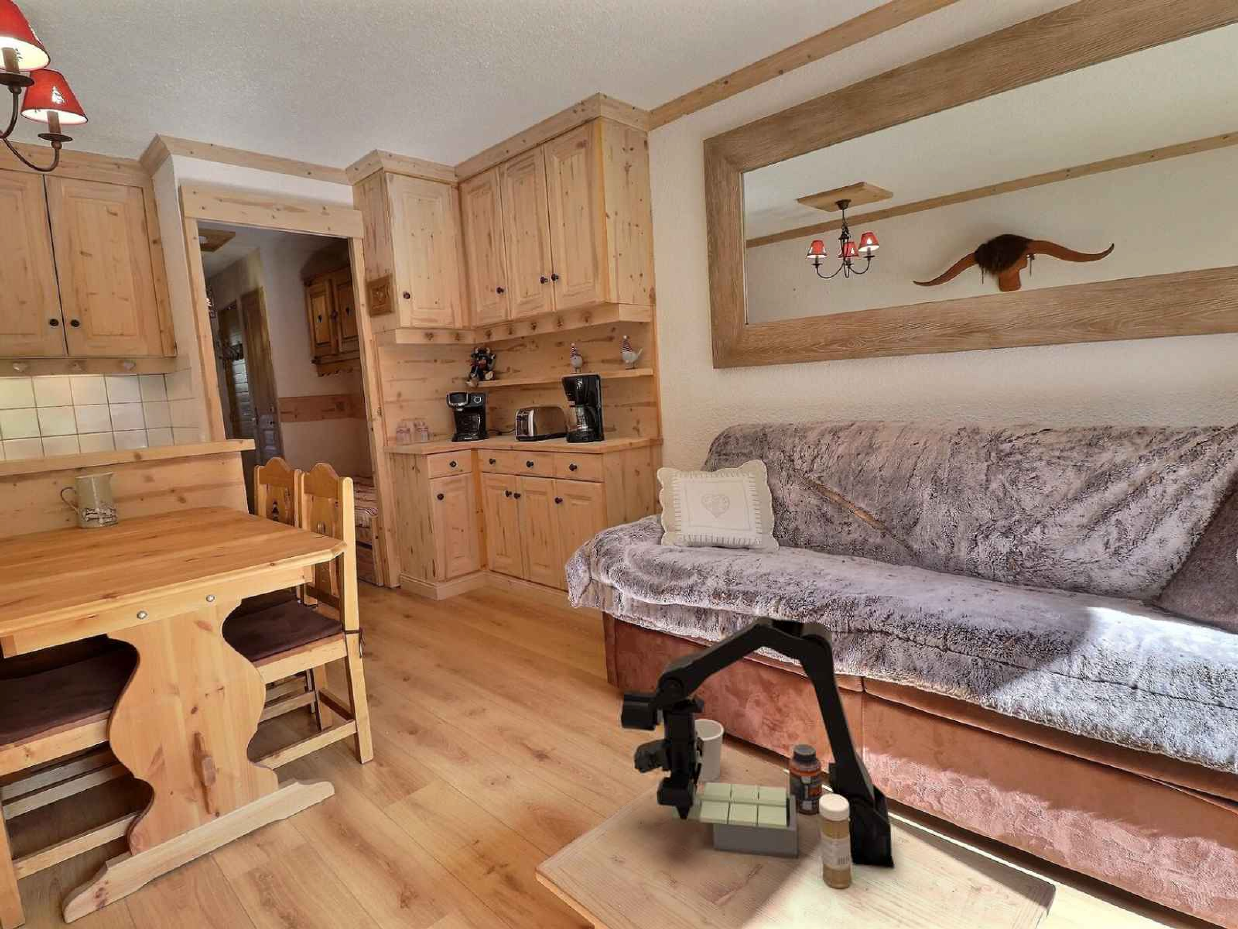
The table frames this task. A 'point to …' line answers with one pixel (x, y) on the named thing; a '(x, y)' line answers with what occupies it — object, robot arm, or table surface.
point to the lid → (740, 805)
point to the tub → (759, 836)
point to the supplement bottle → (805, 778)
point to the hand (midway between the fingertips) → (684, 813)
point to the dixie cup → (710, 748)
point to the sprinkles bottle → (835, 840)
